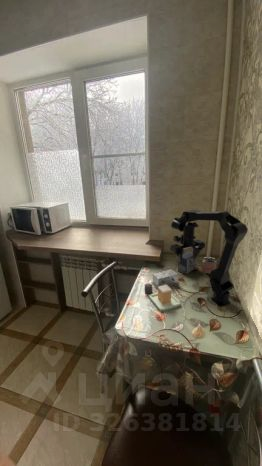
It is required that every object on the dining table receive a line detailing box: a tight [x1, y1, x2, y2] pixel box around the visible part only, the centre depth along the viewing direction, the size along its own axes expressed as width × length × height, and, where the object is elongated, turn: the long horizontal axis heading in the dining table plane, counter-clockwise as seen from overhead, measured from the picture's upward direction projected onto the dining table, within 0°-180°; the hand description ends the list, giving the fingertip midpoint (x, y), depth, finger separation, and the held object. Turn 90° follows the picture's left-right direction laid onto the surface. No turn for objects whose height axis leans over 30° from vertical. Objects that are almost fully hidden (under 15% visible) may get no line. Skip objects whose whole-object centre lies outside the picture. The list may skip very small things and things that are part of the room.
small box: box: [177, 250, 197, 275], centre depth 128 cm, size 11×6×10 cm, turn 134°
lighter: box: [201, 256, 217, 275], centre depth 124 cm, size 8×3×10 cm, turn 77°
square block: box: [157, 285, 172, 304], centre depth 100 cm, size 5×5×7 cm
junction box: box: [150, 268, 180, 290], centre depth 115 cm, size 7×13×6 cm, turn 112°
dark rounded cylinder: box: [144, 283, 153, 296], centre depth 108 cm, size 4×4×4 cm
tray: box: [148, 292, 182, 313], centre depth 101 cm, size 12×11×1 cm
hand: (186, 260), depth 114 cm, fingers open, 9 cm apart
